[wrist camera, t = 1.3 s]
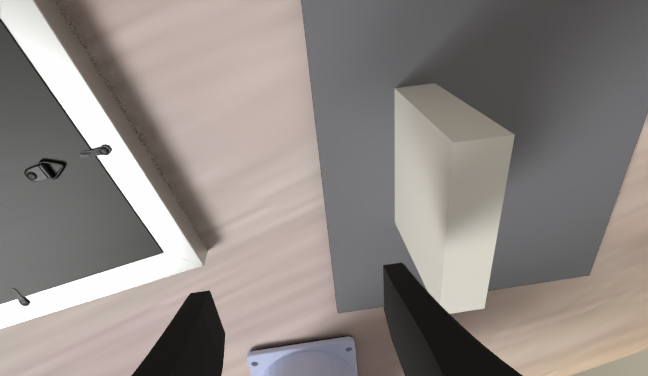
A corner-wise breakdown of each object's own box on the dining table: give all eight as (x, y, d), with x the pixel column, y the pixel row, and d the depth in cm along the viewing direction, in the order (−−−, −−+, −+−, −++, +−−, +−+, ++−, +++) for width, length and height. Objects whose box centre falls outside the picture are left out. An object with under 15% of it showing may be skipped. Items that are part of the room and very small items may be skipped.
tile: (427, 217, 22) (484, 308, 16) (394, 222, 22) (439, 315, 15) (434, 82, 18) (514, 134, 12) (394, 88, 18) (453, 142, 12)
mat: (583, 269, 26) (589, 275, 26) (336, 306, 25) (337, 313, 25) (718, -124, 15) (733, -128, 15) (292, -78, 14) (292, -81, 14)
